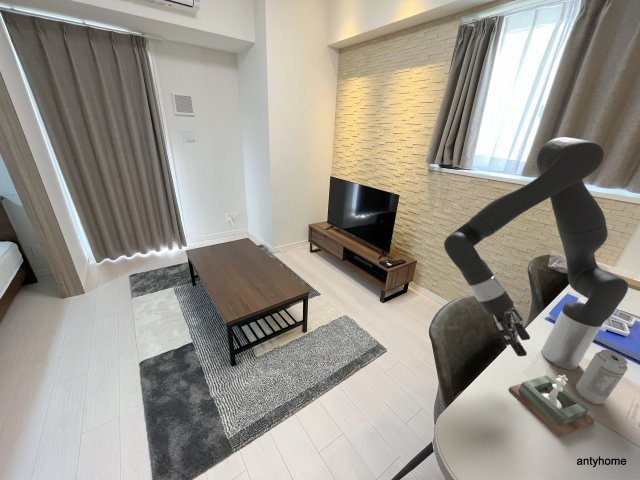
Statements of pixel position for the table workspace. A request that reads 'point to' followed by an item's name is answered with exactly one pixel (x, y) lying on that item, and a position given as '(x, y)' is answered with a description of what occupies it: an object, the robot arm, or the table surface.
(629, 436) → the table surface
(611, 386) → the energy drink can
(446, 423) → the table surface
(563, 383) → the chess piece
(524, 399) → the socket board
